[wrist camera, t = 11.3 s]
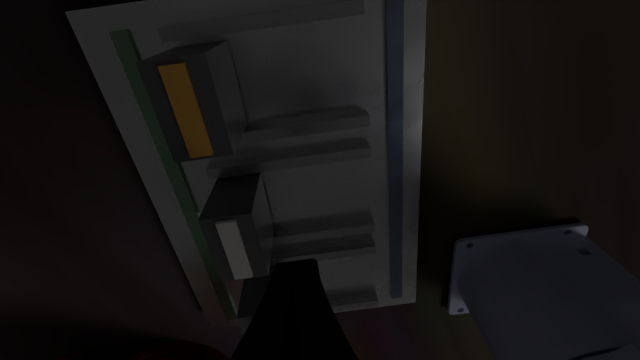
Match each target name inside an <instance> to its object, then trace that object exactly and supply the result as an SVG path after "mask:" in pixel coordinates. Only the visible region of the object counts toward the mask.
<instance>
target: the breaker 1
mask: <svg viewBox="0 0 640 360" xmlns="http://www.w3.org/2000/svg"><path fill="white" fill-rule="evenodd" d="M198 222H199V225H200V227H201V230H202V232H203V235H204V238H205V240H206V243H207V245H208V248H209V250H210V253H211V256H212V258H213V261H214V263H215V266H216V268H217V271H218V274H219V276H220V279H221V281H230V280H238V279H245V278H253V277H260V276H268V275H269V270H270V261H271V252H272V243H273V233H274V225H273V221H272V217H271V213H270V209H269V205H268V201H267V197H266V193H265V189H264V184H263V180H262V176H261V173H254V174H246V175H239V176H231V177H224V178H217V180H216V182H215V184H214V186H213V189H212V191H211V193H210V195H209V197H208V200H207V202H206V204H205V206H204V208H203V211H202V213H201V215H200V217H199V219H198Z"/></svg>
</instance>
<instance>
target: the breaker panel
mask: <svg viewBox="0 0 640 360" xmlns="http://www.w3.org/2000/svg"><path fill="white" fill-rule="evenodd" d="M426 6H427V0H144V1H137V2H130V3H123V4H116V5H109V6H102V7H95V8H88V9H81V10H74V11H67V12H65V13H66V16H67V18H68V20H69V22H70V24H71V26H72V29H73V31H74V33H75V35H76V37H77V39H78V42H79V44H80V46H81V48H82V50H83V52H84V55H85V57H86V59H87V61H88V63H89V66H90V68H91V70H92V72H93V74H94V76H95V79H96V81H97V83H98V85H99V87H100V89H101V92H102V94H103V96H104V98H105V100H106V102H107V105H108V107H109V109H110V111H111V113H112V115H113V118H114V120H115V122H116V124H117V126H118V129H119V131H120V133H121V135H122V137H123V139H124V142H125V144H126V146H127V148H128V150H129V152H130V155H131V157H132V159H133V161H134V163H135V165H136V168H137V170H138V172H139V174H140V176H141V178H142V181H143V183H144V185H145V187H146V189H147V192H148V194H149V196H150V198H151V200H152V202H153V205H154V207H155V209H156V211H157V213H158V215H159V218H160V220H161V222H162V224H163V226H164V228H165V231H166V233H167V235H168V237H169V239H170V241H171V244H172V246H173V248H174V250H175V252H176V255H177V257H178V259H179V261H180V263H181V265H182V268H183V270H184V272H185V274H186V276H187V278H188V281H189V283H190V285H191V287H192V289H193V291H194V294H195V296H196V298H197V300H198V302H199V304H200V307H201V309H202V311H203V313H204V315H205V318H206V320H207V322H208V324H209V326H210V328H211V329H213V328H221V327H228V326H236V325H238V322H237V320H236V316H237V311H238V306H239V301H240V296H241V291H242V286H243V281H244V279H238V280H230V281H221V279H220V276H219V274H218V271H217V268H216V266H215V263H214V261H213V258H212V256H211V253H210V250H209V248H208V245H207V243H206V240H205V238H204V235H203V232H202V230H201V227H200V225H199V222H198V219H199V217H200V215H201V213H202V211H203V208H204V206H205V204H206V202H207V200H208V197H209V195H210V193H211V191H212V189H213V186H214V184H215V182H216V180H217V178H224V177H231V176H239V175H246V174H254V173H261V176H262V180H263V184H264V189H265V193H266V197H267V201H268V205H269V209H270V213H271V217H272V221H273V225H274V233H273V243H272V252H271V261H270V267H274V266H275V265H276V264H277V263H281V262H289V261H296V260H304V259H311V258H314V259H316V260H317V262H318V268H319V273H320V278H321V282H322V285H323V288H324V290H325V293H326V296H327V298H328V301H329V303H330V305H331V307H332V310H333V312H334V313H336V312H344V311H351V310H359V309H367V308H375V307H382V306H390V305H398V304H405V303H413V302H416V275H417V248H418V221H419V194H420V167H421V140H422V113H423V86H424V59H425V33H426ZM225 40H227V41H228V45H229V49H230V53H231V57H232V61H233V65H234V70H235V74H236V78H237V82H238V86H239V90H240V94H241V98H242V102H243V106H244V110H245V114H246V118H247V122H248V123H247V125H246V127H245V130H244V132H243V135H242V137H241V139H240V142H239V144H238V147H237V149H236V151H235V154H234V155H230V156H223V157H216V158H208V159H201V160H194V161H186V162H179V163H174V160H173V158H172V155H171V153H170V150H169V148H168V145H167V142H166V140H165V137H164V135H163V132H162V130H161V127H160V124H159V122H158V119H157V117H156V114H155V112H154V109H153V107H152V104H151V101H150V99H149V96H148V94H147V91H146V89H145V86H144V84H143V81H142V78H141V76H140V73H139V71H138V68H137V66H136V62H139V61H141V60H144V59H146V58H149V57H152V56H154V55H157V54H159V53H162V52H164V51H167V50H169V49H172V48H175V47H182V46H189V45H197V44H204V43H211V42H218V41H225Z"/></svg>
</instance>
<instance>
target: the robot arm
mask: <svg viewBox="0 0 640 360" xmlns="http://www.w3.org/2000/svg"><path fill="white" fill-rule="evenodd" d="M587 232H588V226H587V225H585V224H584V223H573V224H565V225H558V226H550V227H543V228H535V229H528V230H520V231H512V232H505V233H497V234H490V235H482V236H475V237H467V238H460V239H458V240H456V242H455V243H454V249H453V258H452V267H451V276H450V285H449V294H448V303H447V310H448V312H449V314H452V315H455V314H463V313H470V314H471V316H472V318H473V320H474V322H475V323H476V325H477V327H478V329H479V331H480V333H481V334H482V336H483V338H484V340H485V342H486V344H487V346H488V347H489V349H490V351H491V353H492V355H493V357H494V358H495V360H640V281H639V280H637V279H636V278H635V277H634V276H633V275H631V274H630V273H629V272H628V271H627V270H625V269H624V268H623V267H622V266H621V265H619V264H618V263H617V262H616V261H615V260H613V259H612V258H611V257H610V256H609V255H607V254H606V253H605V252H604V251H603V250H601V249H600V248H599V247H598V246H597V245H595V244H594V243H593V242H592V241H591V240H589V239H588V238H587V237H586V234H587ZM469 243H470V244H469ZM467 244H469V245H467ZM230 360H358V358H357V356H356V354H355V353H354V351H353V349H352V347H351V346H350V344H349V342H348V340H347V338H346V336H345V335H344V333H343V331H342V329H341V327H340V325H339V323H338V321H337V319H336V316H335V314H334V312H333V310H332V307H331V305H330V303H329V301H328V298H327V296H326V293H325V290H324V288H323V285H322V282H321V278H320V273H319V268H318V262H317V260H316V259H314V258H311V259H304V260H296V261H289V262H281V263H277V264H276V265H275V266H274V269H273V272H272V275H271V277H270V280H269V283H268V285H267V287H266V290H265V292H264V295H263V297H262V299H261V301H260V303H259V306H258V308H257V310H256V312H255V314H254V316H253V318H252V320H251V322H250V324H249V326H248V328H247V330H246V332H245V334H244V335H243V337H242V339H241V341H240V343H239V345H238V346H237V348H236V350H235V352H234V354H233V355H232V357H231V359H230Z"/></svg>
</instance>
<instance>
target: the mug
mask: <svg viewBox="0 0 640 360" xmlns="http://www.w3.org/2000/svg"><path fill="white" fill-rule="evenodd" d="M59 360H69V359H64V358H59ZM132 360H230V359H229V358H228V357H227V356H226V355H225V354H223V353H222V352H220V351H218V350H216V349H214V348H212V347H209V346H206V345H202V344H199V343H193V342H186V341H171V342H162V343H158V344H153V345H151V346H148V347H146V348H144V349H142V350H141V351H139V352H137V353H136V354H135V356H134V357H133V358H132Z"/></svg>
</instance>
